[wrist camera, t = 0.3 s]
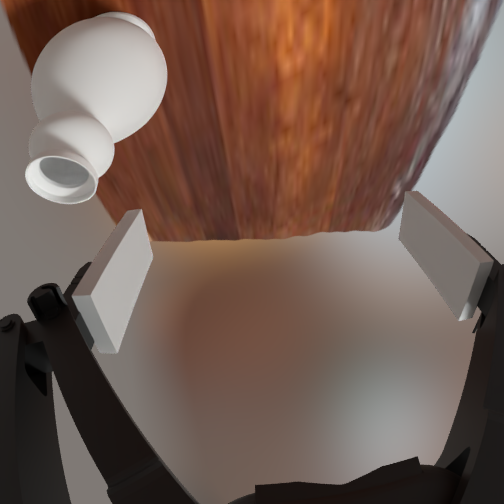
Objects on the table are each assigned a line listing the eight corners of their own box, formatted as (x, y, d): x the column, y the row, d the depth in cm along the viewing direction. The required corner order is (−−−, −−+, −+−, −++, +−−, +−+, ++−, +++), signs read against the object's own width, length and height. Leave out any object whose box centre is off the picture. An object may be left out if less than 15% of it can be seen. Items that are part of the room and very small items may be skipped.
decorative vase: (191, 71, 42) (181, 207, 32) (94, 107, 45) (56, 239, 35) (146, -25, 26) (79, 74, 16) (39, 33, 29) (-48, 162, 19)
